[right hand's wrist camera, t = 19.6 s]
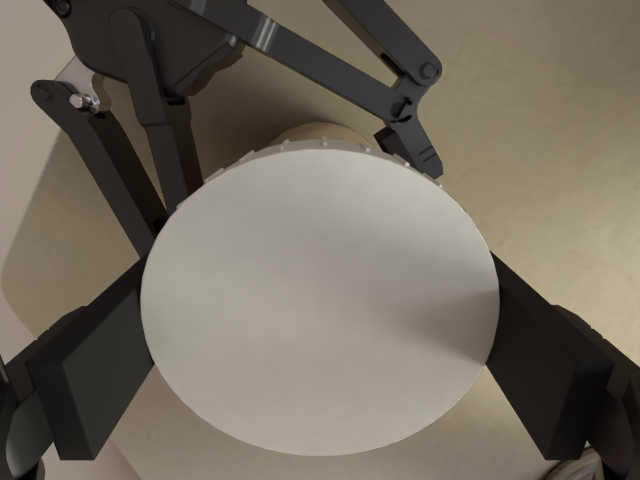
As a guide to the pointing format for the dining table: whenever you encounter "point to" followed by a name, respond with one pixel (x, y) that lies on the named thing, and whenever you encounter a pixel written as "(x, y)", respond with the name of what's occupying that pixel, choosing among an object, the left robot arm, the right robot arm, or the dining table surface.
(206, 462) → the dining table surface
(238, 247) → the lid
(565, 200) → the dining table surface
